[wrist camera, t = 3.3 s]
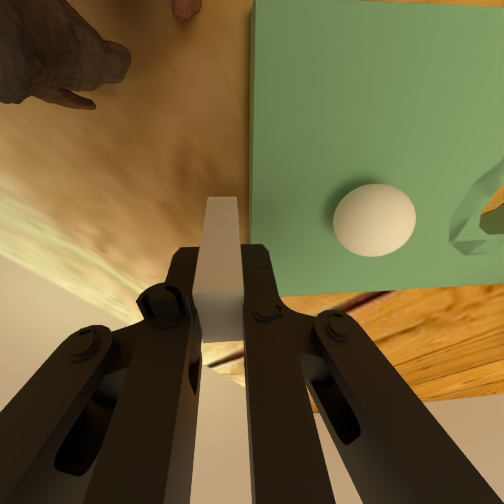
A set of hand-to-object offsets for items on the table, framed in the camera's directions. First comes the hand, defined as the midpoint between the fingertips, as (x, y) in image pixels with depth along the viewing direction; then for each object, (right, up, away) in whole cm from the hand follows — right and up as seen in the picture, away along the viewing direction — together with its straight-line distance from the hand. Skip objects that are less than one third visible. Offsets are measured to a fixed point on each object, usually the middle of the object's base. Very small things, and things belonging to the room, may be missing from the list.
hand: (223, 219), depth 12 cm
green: (+14, +3, +4) cm, 15 cm away
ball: (+8, 0, 0) cm, 8 cm away
